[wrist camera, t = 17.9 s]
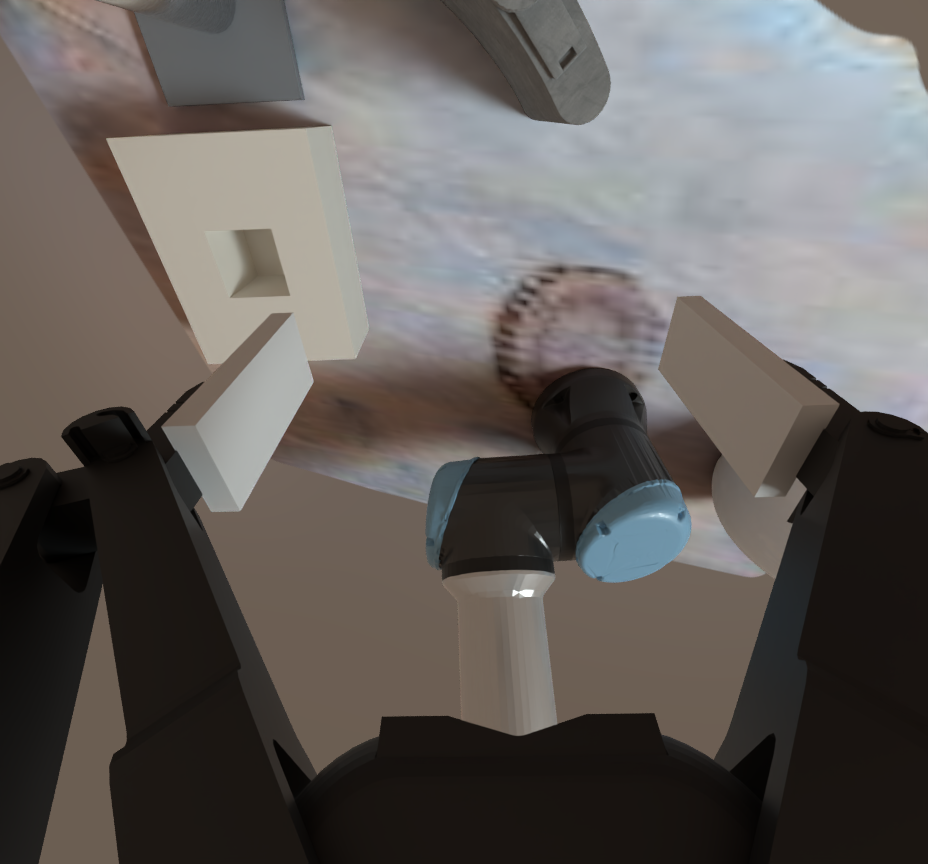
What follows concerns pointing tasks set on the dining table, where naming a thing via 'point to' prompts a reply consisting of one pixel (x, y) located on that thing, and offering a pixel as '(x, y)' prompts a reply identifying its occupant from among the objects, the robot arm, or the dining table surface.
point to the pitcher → (754, 517)
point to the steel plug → (185, 12)
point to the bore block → (251, 233)
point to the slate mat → (226, 58)
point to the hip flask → (542, 55)
